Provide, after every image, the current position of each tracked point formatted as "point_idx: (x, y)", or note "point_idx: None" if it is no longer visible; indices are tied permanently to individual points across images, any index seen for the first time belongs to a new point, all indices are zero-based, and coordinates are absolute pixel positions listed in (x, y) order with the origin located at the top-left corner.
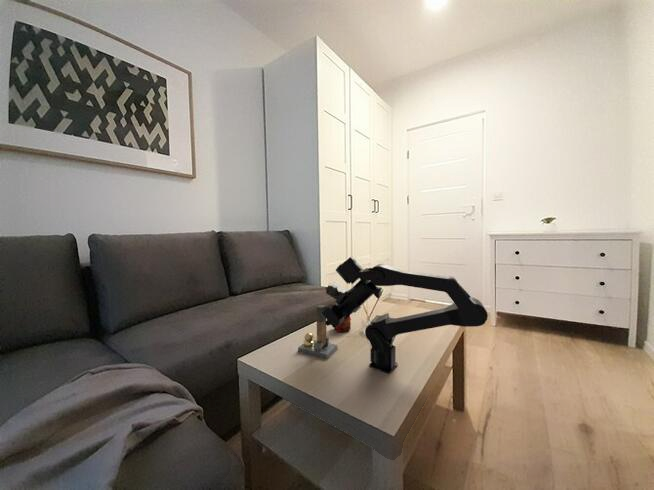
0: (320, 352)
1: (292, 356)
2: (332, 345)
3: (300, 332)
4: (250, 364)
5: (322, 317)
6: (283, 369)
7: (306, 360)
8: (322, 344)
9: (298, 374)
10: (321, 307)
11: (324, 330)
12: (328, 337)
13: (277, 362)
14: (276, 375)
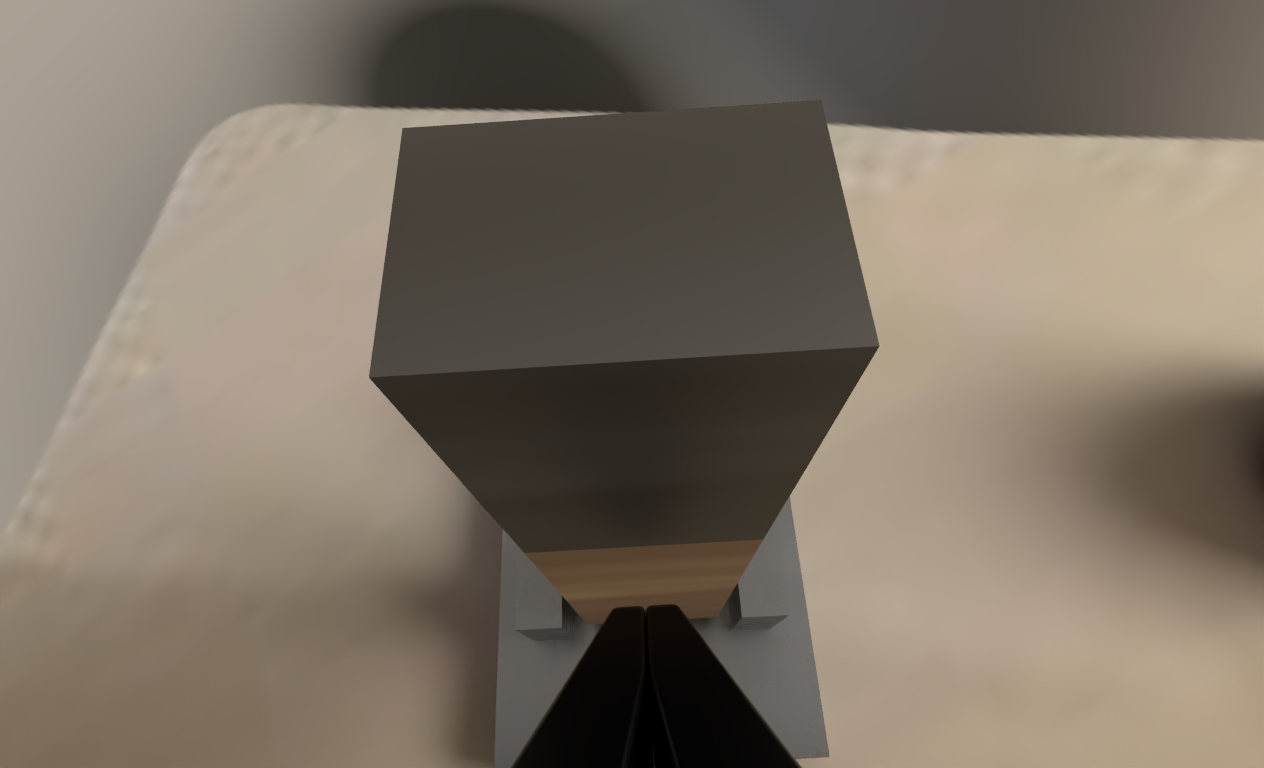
0: (508, 654)
1: None
2: (771, 696)
3: (905, 144)
4: (172, 193)
5: (529, 520)
6: (160, 461)
7: (390, 554)
8: (593, 621)
9: (103, 651)
10: (387, 350)
11: (658, 587)
12: (779, 615)
13: (262, 339)
14: (49, 472)
